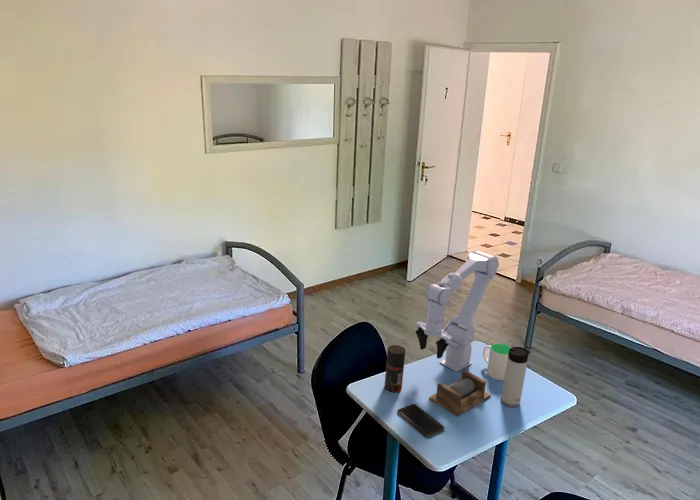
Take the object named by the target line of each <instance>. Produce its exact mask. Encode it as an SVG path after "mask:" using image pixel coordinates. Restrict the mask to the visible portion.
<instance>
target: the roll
mask: <svg viewBox="0 0 700 500" xmlns="http://www.w3.org/2000/svg"><path fill="white" fill-rule="evenodd" d="M450 388H451V389H453V390H455V391H457V392H458V393H460V394H462V398H463V397H465V396H467V395H468V394H470V393H472V392H474V390H475V385H474V383H473V381H472V380H471V379H469V378H466V379H464V380H462V381H460V382H458V383H456V384H454V385H452V386H451V387H450Z"/></svg>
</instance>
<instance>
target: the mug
mask: <svg viewBox="0 0 700 500" xmlns="http://www.w3.org/2000/svg"><path fill="white" fill-rule="evenodd" d="M510 348H512V347H511V346H510V345H508V344H505V343H498V342H497V343H493V344H491V345H490V344H488V345H486V346H485V347H484V348H483V351H482V357H483V359H484V361H485V362H486V364H487V369H486V374H487V376H489V377H490V378H492V379H494V380H498V381H504V377H505V371H506V365H507V359H508V354H509V350H510ZM488 349H489V356H488V354H487V351H488Z"/></svg>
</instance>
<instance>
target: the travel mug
mask: <svg viewBox="0 0 700 500" xmlns="http://www.w3.org/2000/svg"><path fill="white" fill-rule="evenodd" d="M530 354H531V350H530V349H527V348H525V347H523V346H513V347H512V348H510V350H509V354H508V359H507V365H506V371H505V377H504V380H503V382H502V390H501V396H500V402H501V403H502V404H503V405H505V406H507V407H510V408H517V407H518V406H520V404H521V399H522V393H523V387H524V383H525V376H526V371H527V365H528V359H529V355H530Z"/></svg>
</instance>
